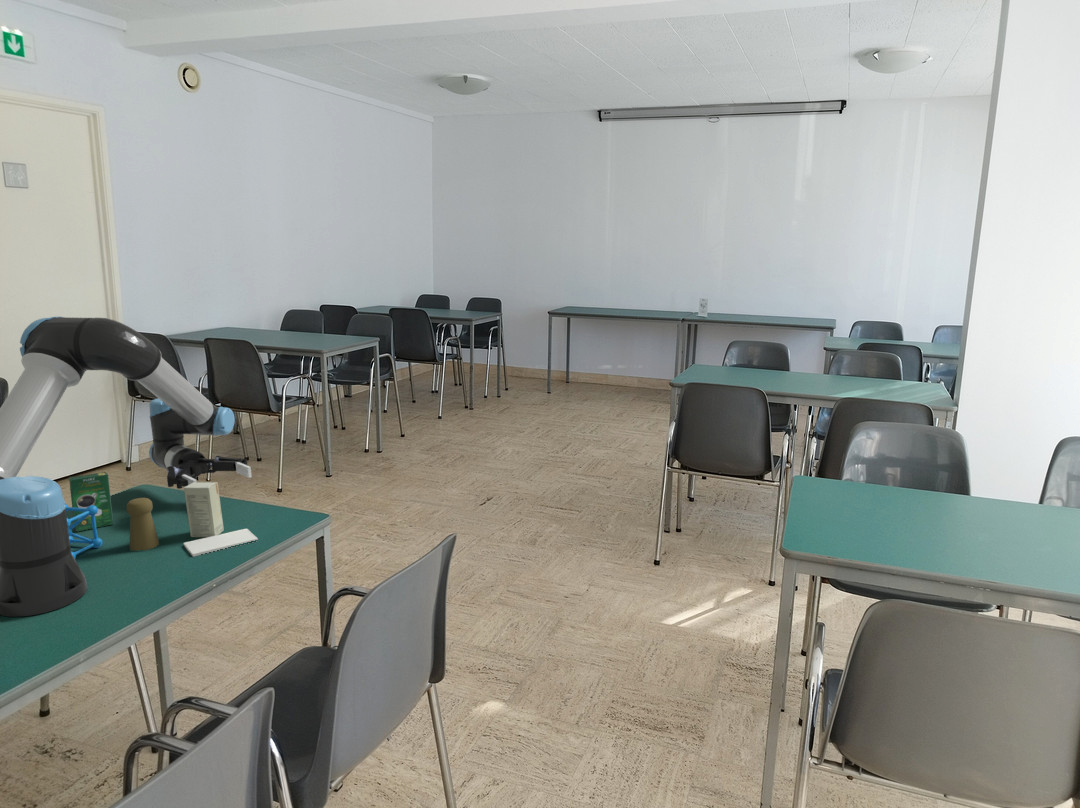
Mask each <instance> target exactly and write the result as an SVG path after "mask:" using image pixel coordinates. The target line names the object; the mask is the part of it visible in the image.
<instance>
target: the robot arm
mask: <svg viewBox="0 0 1080 808" xmlns="http://www.w3.org/2000/svg"><path fill="white" fill-rule="evenodd" d="M19 343H20V344H21V346H20V347H19V351H20V356H21V364H22V366H23V369H24V370H23V371H22V373H21V375H20V376H19V377H18V379H17V380H16V383H15V384H14V385H13V387H12V389H11V390H10V392H9V394H8V395H7V397H6V398H5V400H4V402H3V403H2V404H1V406H0V615H1V616H4V617H14V618H15V617H17V618H18V617H28V616H35V615H41V614H44V613H49V612H51V611H52V612H53V611H55V610H58V609H61V608H64V607H67V606H69V605H70V604H72V603H74V602H76V601H78V600H79V599H81V598H82V597H83V596H84V595H85V594H86V592H87V591H88V584H87V578H86V576H85V574H84V572H83V570H82V569H81V567H80V566H79V564H78V561H77V560H76V558H75V559H74V557H73V555H72V553H71V551H72V548H71V545H70V540H69V532H68V524H67V518H68V517H67V516H68V515H67V512H66V509H65V504H66V501H65V498H64V496H63V492H62V488H61V486H60V484H58V482H57V481H54V480H53V479H50V478H47V477H43V476H34V475H26V476H18V474H19V472H20V470H21V469H22V467H23V465H24V463H25V461H26V460H27V459H28V456H29V455H30V453H31V451H32V450H33V447H35V444H36V442H37V440H38V439H39V437H40V435H41V434H42V432H43V430H44V429H45V427H46V425H47V423H48V422H49V420H50V418H51V416H53V415H52V414H53V413H54V411H55V410H56V408H57V406H58V404H59V403H60V401H61V399H62V398H63V395H64V394H65V392H66V390H67V389H68V388H70V387H75V386H77V385H79V383H80V382H81V380H82V378H83V376H84V374H85V373H86V371H108V372H114V373H116V374H120V375H122V376H123V377H124V378H125V379H127V380H129V381H136V382H138V383H139V384H140V385H142V387H144V388H145V389H146V390H148V391H149V392H150V393H152V394H153V395H154V396H155V397H156V398H154V399H152V400H150V402H149V419H150V420H149V421H150V428H151V435H152V443H151V444H150V445H151V446H150V447H149V450H148V456H149V458H150V460H151V461H152V462H153V463H154V464H155V465H156V466H158V467H159V468H162V469H166V471H167V475H166V481H167V487H168V488H173V487H174V485H176V489H183V488H184V487H186V486H188V485H190V484H191V483H193V482H198V481H197V477H199V476H200V475H201V474H208V473H209V474H215V473H216V472H236V474H238V475H241V476H243V477H246V478H248V479H250V478H252V468H251V466H249V465H248V459H247V458H242V457H240V458H239V457H238V458H237V457H229V456H228V457H226V456H221V455H217V456H215V458H206V457H205V455H204V454H202V453H201V452H200V451H198V450H196V449H193V448H191V447H189V446H187V445H185V440H184V439H185V438H184V437H185V436H184V435H194V436H195V435H196V436H199V435H200V436H214V437H217V436H228V435H229V434H231V432H232V431H233V430H234V426H235V421H236V419H235V414H234V411H233V410H232V409H231V408H229V407H225V406H224V407H223V406H216V405H214V404H213V403H212V402H211V401H210V400H209V399H208V398H207V397H205V395H203V394H202V393H201V392H200V391H199V390H198V389H197V388H196V387H194V386H193V384H192V383H190V382H189V381H188V380H187V379H186V378H185V377H184V376H183V375H181V373H180V372H179V371H177V370H176V369H175V368H174V367H173V366H171V364H170V363H168V362H167V361H166V360H165V359H164V358H163V357H162V352H161V350H160V348H159V347H157V346H156V345H155V344H154V343H153V342H152V341H151V340H150V339H148V338H147V337H146V336H144V335H143V334H142V333H140V332H139V331H137V330H135V329H133V328H131V327H130V326H129V325H126V324H124V323H122V322H119V321H117V320H114V319H111V318H108V317H107V318H106V317H65V316H50V317H43V318H39V319H36V320H34V321H32V322H31V323H30V324H29V325H28V326H26V328H25V329H24V331H23V332H22V334H21V337H20V340H19Z"/></svg>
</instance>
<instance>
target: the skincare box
mask: <svg viewBox="0 0 1080 808" xmlns="http://www.w3.org/2000/svg"><path fill="white" fill-rule="evenodd" d="M183 490H184V492H183V493H184V497H185V505H186V511H187V512H186V513H187V519H188V526H189V527H188V528H189V533H190V534H189V535H190V537H191V538H207V537H211V536H216V535H220V534H222V532H224V530H225V529H224V521H223V514H222V506H221V499H220V491H219V484H218V482H215V481H214V482H213V481H210V482H209V481H206V482H203V481H201V482H200V481H197V482H193V483H191V484H190V485H188V486H186V487H183Z"/></svg>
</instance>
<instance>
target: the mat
mask: <svg viewBox="0 0 1080 808" xmlns="http://www.w3.org/2000/svg"><path fill="white" fill-rule="evenodd" d="M255 540H258V541H259V538H258V537H257V536H256V535H255V534H253V533H252V531H250V529H248V528H243V529H238V530H237V529H236V530H233V531H230V532H226V533H220V534H219V535H216V536H211V537H202V538H199V539H194V540H191V541H185V542H183V546H184V548H185V549H186V550H187V552H188V553H189V554H190V555H191V556H192V557H193V558H194V557H198V556H202V555H201V554H203V555H206V554H205V553H207V554H210V553H209V552H211V553H214V552H213V551H215V552H218V551H217V550H219V551H221V550H220V549H223V550H226V549H225V548H227V549H229V548H228V547H231V546H235V545H239V544H243V543H247V542H251V541H255ZM231 548H232V547H231Z"/></svg>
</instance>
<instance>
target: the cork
mask: <svg viewBox="0 0 1080 808" xmlns="http://www.w3.org/2000/svg"><path fill="white" fill-rule="evenodd" d="M153 508H154V507H153V501H152V500H151V499H150V498H149V497H148V498H147V497H138V498H133V499H131V500H129V501H128V502H127V504H126V508H125V509H126V512H127V514H128V515H129V517H130V518H129V523H130V524H129V550H130V549H131V550H130V551H133V550H134V551H133V552H138V551H137V550H144V551H148V549H149V550H152V549H154V547H155V548H157V547H158V546H159V545H160V541H159V537H158V534H157V530H156V529H157V528H156V526H155V523H154V519H153V515H152V511H153ZM157 545H158V546H157ZM151 548H152V549H151Z"/></svg>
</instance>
